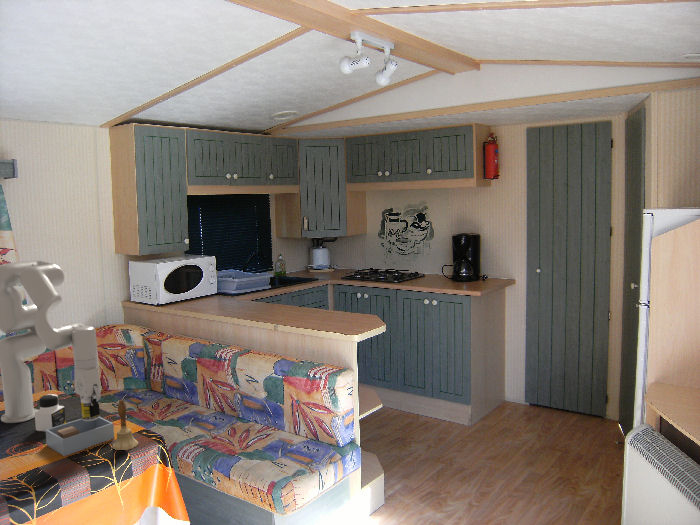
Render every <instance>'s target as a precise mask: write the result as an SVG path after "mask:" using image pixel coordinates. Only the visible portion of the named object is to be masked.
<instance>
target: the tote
mask: <svg viewBox="0 0 700 525" xmlns="http://www.w3.org/2000/svg"><path fill="white" fill-rule="evenodd" d="M71 426H73V427H75V428H76V429H78V430H79V434H77V435H74V436H71V437H68V438H65V439H63V438H61V437H60V436H58V435H57V431H58V430H61V429H65V428H68V427H71ZM114 428H115V425H114V422H111V421H109V420H107V419H105V418H104V417H102V416H99V418H98V419H96V420H93V421H84V420H83V419H82V418H79V419H76V420H72V421H69V422H66V424H62V425H59V426H56V427H53V428H50V429H46V430H45V431H44V432H45V439H46V443H45V444H46V446H47V447H49V448H51V449H52V450H53V451H55V452H56V453H58V454H60V455H61V456H63V457H66V456H69V455H72V454H74V453H77V452H80V451H84V450H86V449H89V448H91V447H90V446H92V447H94V446H93V445H95V446H97V445H100V444H103V443H106V442H108V440H109V441H111V439H112V440H114V439H115V429H114ZM105 441H106V442H105ZM102 442H103V443H102ZM99 443H100V444H99ZM96 444H97V445H96ZM88 447H89V448H88ZM85 448H86V449H85Z"/></svg>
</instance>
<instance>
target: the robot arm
mask: <svg viewBox="0 0 700 525" xmlns="http://www.w3.org/2000/svg"><path fill="white" fill-rule="evenodd" d="M64 281H65V275H64V272H63V270H62V268H61V267H60V266H59V265H57V264H56V263H53V262H49V261H44V260H43V261H42V260H37V259H36V260H34V259H33V260H27V261H18V262H17V261H16V262H8V263H2V264H0V331H1V333H4V334H11V333H17V332H18V333H19V332H22V331H26V330H27V332H24V333H19V334H14V335H10V336H7V337H4V338H2V339H0V374H1V381H2V382H1V384H2V393H3V402H4V414H2V415H1V417H0V421H1V422H2V423H5V424H16V423H23V422H27V421H30V420H32V419H35V412H36V411H38V410H39V409H37V408H36V407H35V408H34V398H33V397H34V396H33V385H32V376H31V369H30V367H29V366H28V365H27V364H26V363H25V362H24V360H25V359H29V358H32V357H36V356H39V355H41V354H43V353H45V352H46V349H48V350H50V351H59V350H62V349H66V348H70V347H72V354H73V365H74V379H73V380H74V392H75V394H77V395H78V396H79V402H81V399H82V398H83V397H85V398H89V402H90V406H89V410H90V417H93V416H97V415H99V416H100V414H101V412H100V403H101V402H100V401H101V398H102V395H101V391H102V390H101V387H102V386H101V379H100V372H99V369H98V367H99V354H98V353H99V352H98V342H97V331H96V329H95V327H94V326H91V325H84V324H82V323H80V322H75V323H70V324H66V325H61V326H56V327H53V326H52V325H51V324H50V323H51V322H49V320H48V317H47V316H48V314H50V313H52V312H53V311H54V310H56V309H57V308H58V307H59V306H60V304H61V303H62V300H63V299H62V295H61V294H60V293H59V291H58V290H57V288H56V287H59V286H61V285H62V284H63V283H64ZM17 286H23V289H24V290H25V291H26V292H27V294H28V297H30V299H31V301H32V303H26V304H23V298H22V293H21V292H20V290H19V289H18V288H17ZM92 394H95V395H94V396H92ZM93 397H95V399H93V401H92V398H93ZM80 411H81V413H82V409H81V408H80Z"/></svg>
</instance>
